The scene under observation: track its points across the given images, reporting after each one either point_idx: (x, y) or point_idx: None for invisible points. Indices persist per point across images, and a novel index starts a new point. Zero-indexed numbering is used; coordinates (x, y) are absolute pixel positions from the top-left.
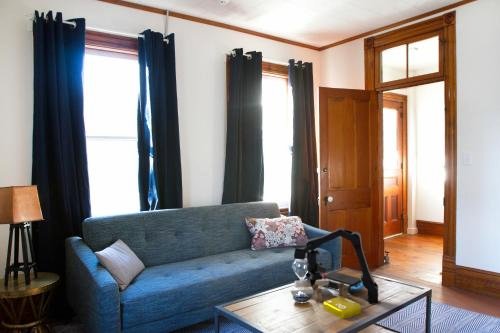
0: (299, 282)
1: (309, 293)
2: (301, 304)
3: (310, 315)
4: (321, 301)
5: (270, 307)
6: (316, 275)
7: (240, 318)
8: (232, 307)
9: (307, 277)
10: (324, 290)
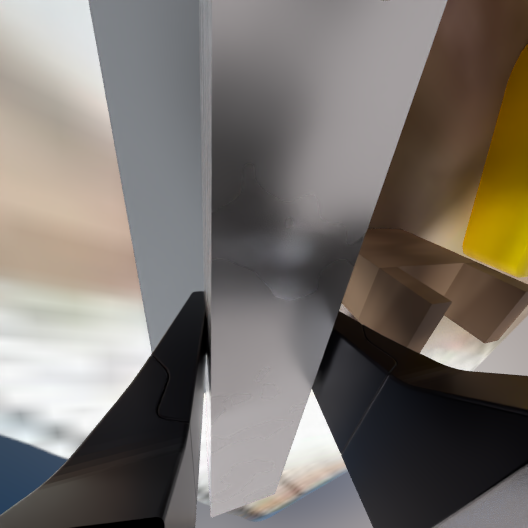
0: (278, 478)
1: None
2: None
3: (457, 327)
4: (402, 230)
5: (323, 437)
6: None
7: (346, 471)
8: (277, 502)
9: (196, 490)
10: (197, 30)
